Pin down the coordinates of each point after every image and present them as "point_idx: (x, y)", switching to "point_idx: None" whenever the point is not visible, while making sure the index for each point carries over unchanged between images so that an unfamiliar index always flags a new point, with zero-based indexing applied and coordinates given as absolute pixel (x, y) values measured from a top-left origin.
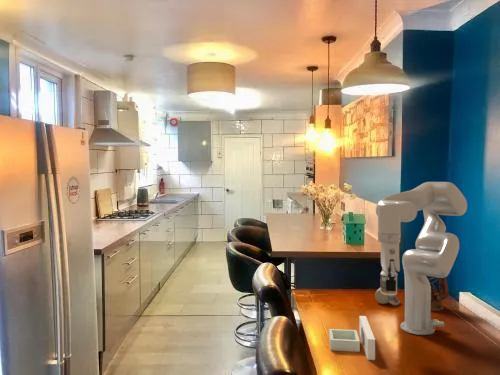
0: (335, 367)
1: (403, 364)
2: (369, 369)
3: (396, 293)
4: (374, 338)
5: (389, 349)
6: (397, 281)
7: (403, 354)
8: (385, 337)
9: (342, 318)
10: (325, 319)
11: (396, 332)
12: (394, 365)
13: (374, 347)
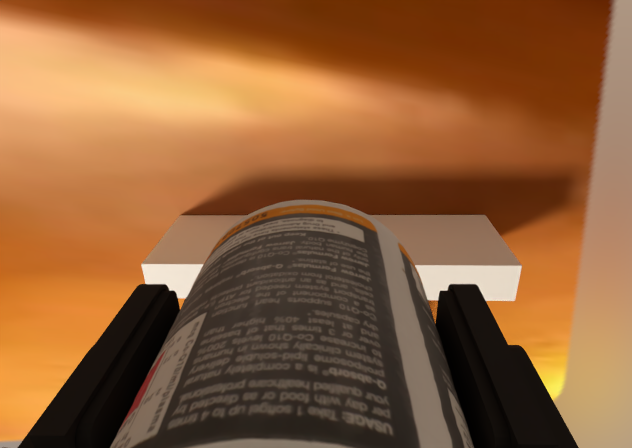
0: (542, 361)
1: (536, 88)
2: (572, 249)
3: (382, 225)
4: (506, 266)
5: (358, 127)
6: (336, 309)
7: (417, 62)
8: (200, 120)
9: (3, 298)
10: (50, 365)
11: (104, 39)
12: (543, 135)
13: (505, 245)
